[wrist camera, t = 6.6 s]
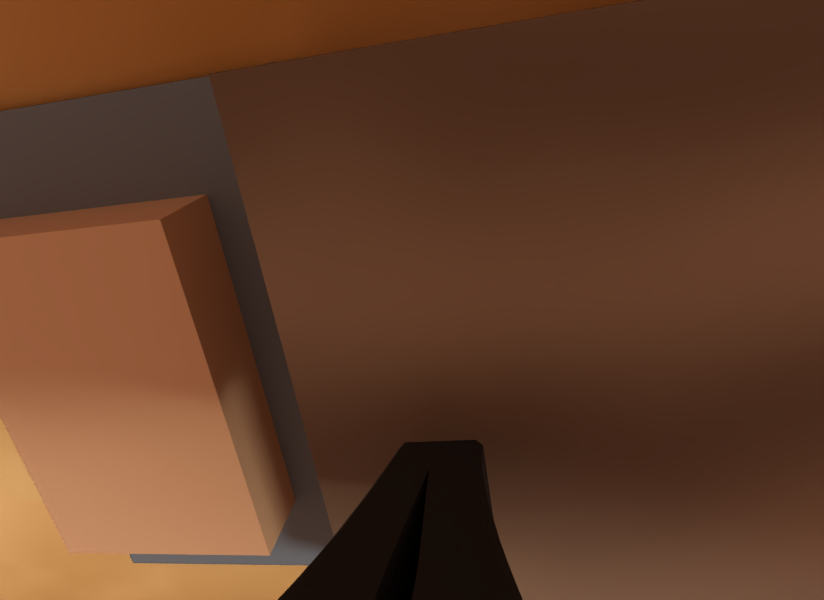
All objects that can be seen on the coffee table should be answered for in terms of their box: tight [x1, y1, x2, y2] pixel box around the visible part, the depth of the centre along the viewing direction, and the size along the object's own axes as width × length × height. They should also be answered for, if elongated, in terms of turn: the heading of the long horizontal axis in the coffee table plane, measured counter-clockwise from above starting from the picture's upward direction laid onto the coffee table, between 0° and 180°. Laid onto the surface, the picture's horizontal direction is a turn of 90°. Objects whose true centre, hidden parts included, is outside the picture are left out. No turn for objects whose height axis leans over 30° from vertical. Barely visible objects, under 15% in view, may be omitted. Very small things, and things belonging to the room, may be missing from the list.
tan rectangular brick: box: [0, 194, 295, 556], centre depth 15 cm, size 9×6×2 cm, turn 9°
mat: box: [0, 76, 334, 565], centre depth 16 cm, size 14×9×1 cm, turn 9°
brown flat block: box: [209, 0, 824, 600], centre depth 12 cm, size 14×11×4 cm
